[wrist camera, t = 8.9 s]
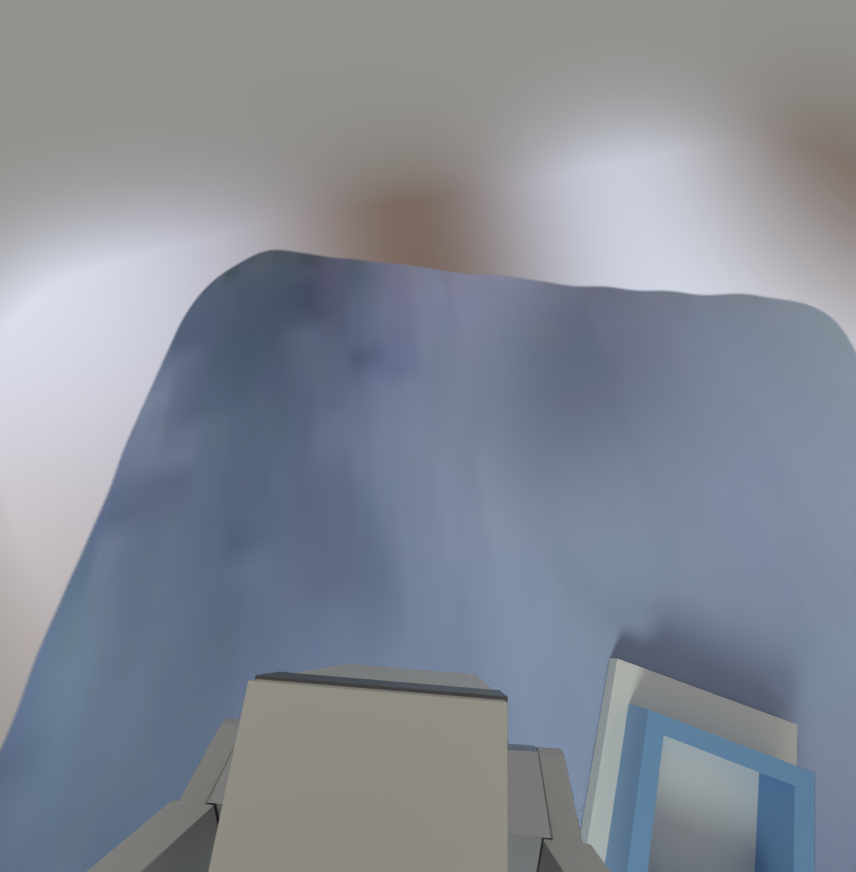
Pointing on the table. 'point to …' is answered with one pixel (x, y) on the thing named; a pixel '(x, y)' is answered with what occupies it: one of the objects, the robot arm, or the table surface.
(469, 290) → the table surface
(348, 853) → the plug
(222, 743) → the robot arm
